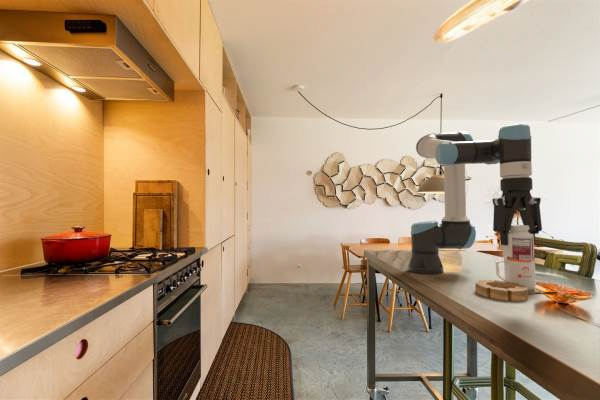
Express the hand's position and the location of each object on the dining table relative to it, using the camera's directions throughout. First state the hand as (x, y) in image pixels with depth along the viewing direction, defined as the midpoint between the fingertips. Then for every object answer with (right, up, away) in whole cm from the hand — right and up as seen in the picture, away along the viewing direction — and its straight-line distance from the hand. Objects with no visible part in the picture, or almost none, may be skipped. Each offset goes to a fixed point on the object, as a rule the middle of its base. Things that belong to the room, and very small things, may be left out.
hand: (518, 255), depth 83 cm
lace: (+17, -15, +13) cm, 26 cm away
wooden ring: (+4, -16, +12) cm, 20 cm away
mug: (+14, -16, +20) cm, 29 cm away
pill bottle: (0, -2, 0) cm, 2 cm away
